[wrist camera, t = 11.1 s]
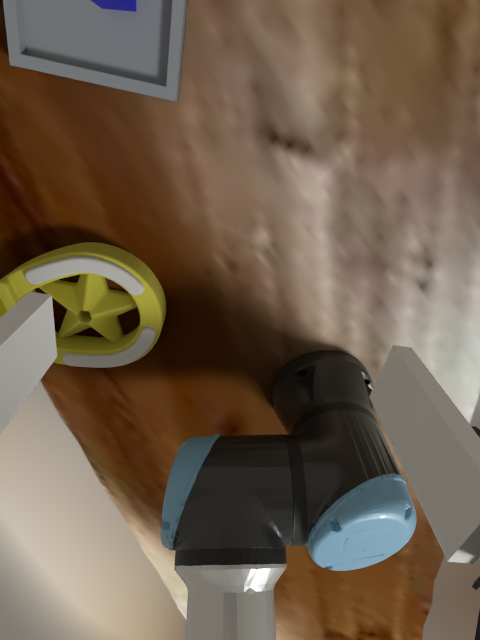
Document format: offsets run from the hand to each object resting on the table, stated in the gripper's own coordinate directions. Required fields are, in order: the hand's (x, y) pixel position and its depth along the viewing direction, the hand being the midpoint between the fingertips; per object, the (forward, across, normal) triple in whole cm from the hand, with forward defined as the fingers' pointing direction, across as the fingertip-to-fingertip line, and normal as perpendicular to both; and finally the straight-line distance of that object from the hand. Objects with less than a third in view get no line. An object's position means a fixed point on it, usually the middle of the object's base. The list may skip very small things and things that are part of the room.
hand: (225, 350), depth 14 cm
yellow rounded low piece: (+31, +16, +17) cm, 39 cm away
